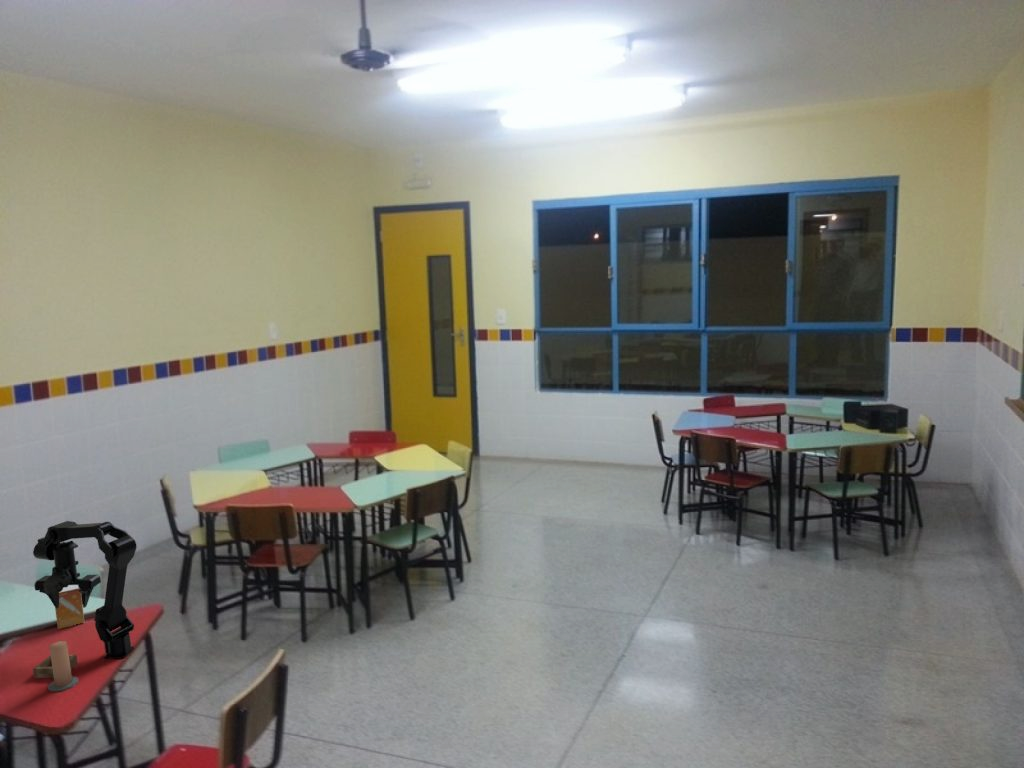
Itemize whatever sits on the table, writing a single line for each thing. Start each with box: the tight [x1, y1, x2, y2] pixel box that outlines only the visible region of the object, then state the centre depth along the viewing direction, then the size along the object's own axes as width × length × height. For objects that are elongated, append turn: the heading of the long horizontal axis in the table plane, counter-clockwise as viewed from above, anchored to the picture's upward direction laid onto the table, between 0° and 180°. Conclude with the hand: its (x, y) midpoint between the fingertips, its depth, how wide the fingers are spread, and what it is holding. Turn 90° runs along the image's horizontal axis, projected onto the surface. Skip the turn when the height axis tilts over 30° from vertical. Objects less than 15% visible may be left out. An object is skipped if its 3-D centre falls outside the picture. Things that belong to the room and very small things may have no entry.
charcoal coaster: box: [47, 675, 79, 693], centre depth 221 cm, size 8×8×1 cm
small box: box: [54, 585, 85, 630], centre depth 261 cm, size 8×6×13 cm
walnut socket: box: [32, 654, 79, 679], centre depth 229 cm, size 8×8×3 cm
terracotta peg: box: [49, 640, 73, 687], centre depth 220 cm, size 4×4×12 cm
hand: (71, 607), depth 244 cm, fingers open, 9 cm apart
